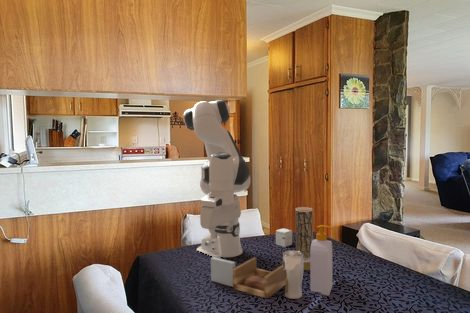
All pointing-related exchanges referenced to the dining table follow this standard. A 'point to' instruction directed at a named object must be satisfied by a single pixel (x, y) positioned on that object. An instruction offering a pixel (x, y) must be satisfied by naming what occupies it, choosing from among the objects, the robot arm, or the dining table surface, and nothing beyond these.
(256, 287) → the offcut
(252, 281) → the offcut
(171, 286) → the dining table surface
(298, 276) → the beer glass
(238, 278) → the tray
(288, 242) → the skincare box
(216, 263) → the grey block
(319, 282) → the soap bottle
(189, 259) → the dining table surface
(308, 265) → the brown bark cylinder
